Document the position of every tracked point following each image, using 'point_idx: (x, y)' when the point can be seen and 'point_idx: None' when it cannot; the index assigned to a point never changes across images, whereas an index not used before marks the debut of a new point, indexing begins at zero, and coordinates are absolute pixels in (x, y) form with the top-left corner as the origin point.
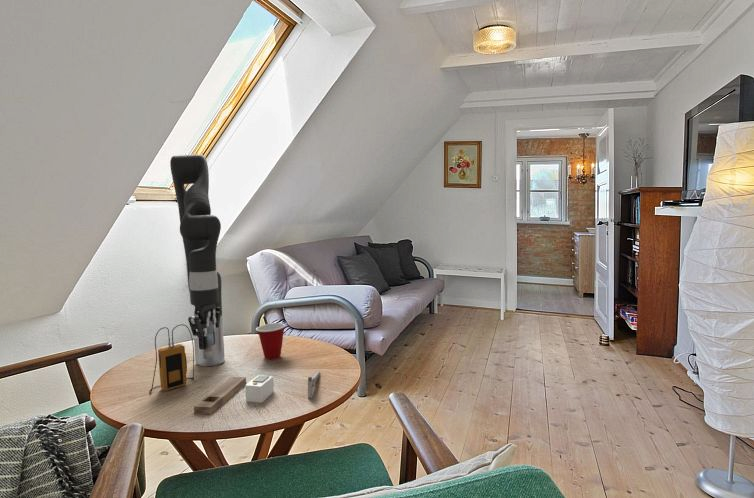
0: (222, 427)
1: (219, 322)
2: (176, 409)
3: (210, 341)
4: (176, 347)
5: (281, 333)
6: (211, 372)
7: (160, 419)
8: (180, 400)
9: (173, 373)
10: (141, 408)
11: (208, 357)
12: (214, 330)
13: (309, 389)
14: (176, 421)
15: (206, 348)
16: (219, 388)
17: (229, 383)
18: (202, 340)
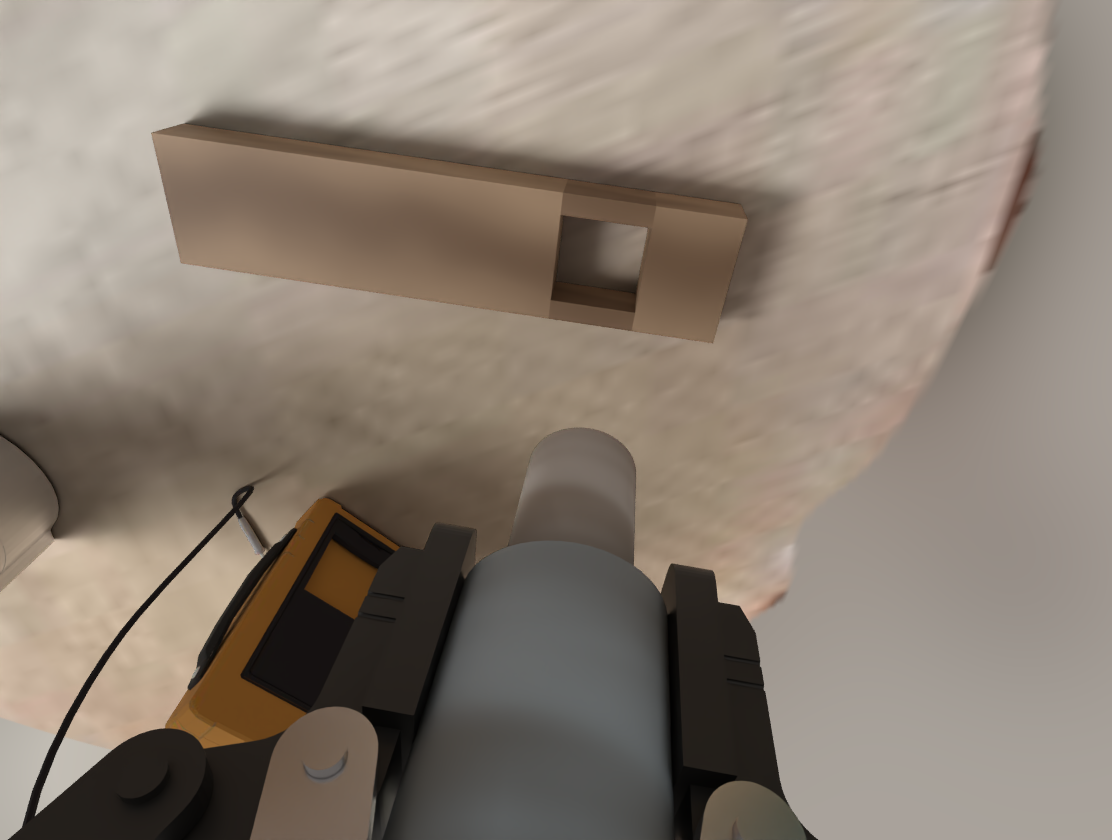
0: (1002, 16)
1: (14, 834)
2: (644, 436)
3: (627, 611)
4: (243, 739)
5: None
6: (113, 428)
7: (767, 468)
8: (524, 456)
9: (342, 599)
10: None
11: (631, 463)
12: (360, 739)
13: None
14: (811, 381)
15: (705, 570)
16: (408, 274)
17: (305, 230)
18: (769, 740)
